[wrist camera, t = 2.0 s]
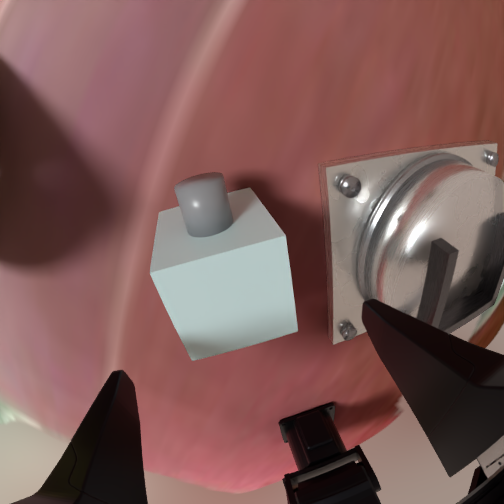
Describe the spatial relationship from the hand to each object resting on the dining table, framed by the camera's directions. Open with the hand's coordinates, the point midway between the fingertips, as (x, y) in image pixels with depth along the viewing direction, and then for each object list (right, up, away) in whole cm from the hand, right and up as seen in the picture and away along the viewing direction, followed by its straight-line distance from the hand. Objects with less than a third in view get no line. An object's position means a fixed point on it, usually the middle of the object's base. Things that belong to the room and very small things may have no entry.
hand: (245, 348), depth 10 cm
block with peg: (-2, +4, +7) cm, 8 cm away
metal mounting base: (+13, +5, +10) cm, 17 cm away
